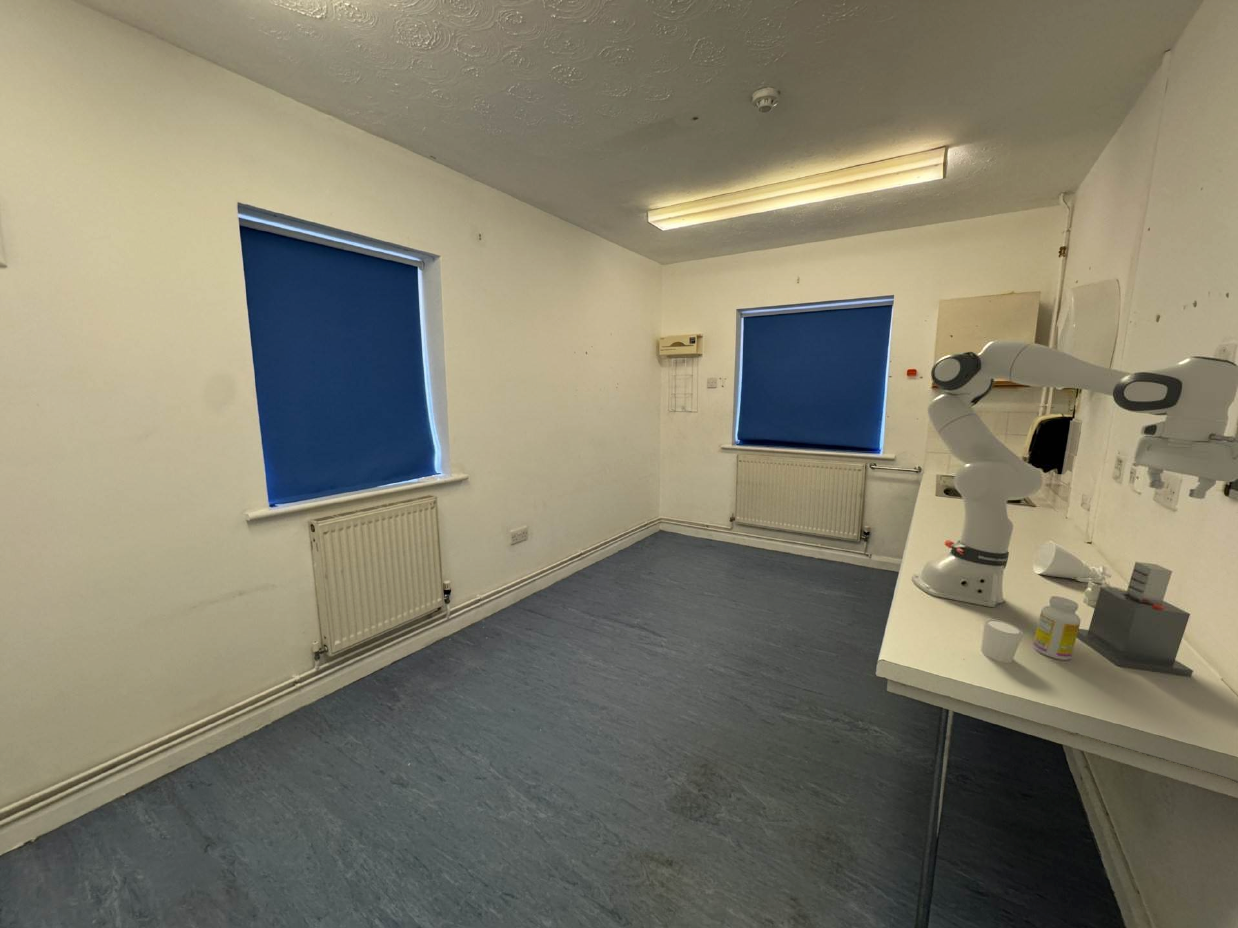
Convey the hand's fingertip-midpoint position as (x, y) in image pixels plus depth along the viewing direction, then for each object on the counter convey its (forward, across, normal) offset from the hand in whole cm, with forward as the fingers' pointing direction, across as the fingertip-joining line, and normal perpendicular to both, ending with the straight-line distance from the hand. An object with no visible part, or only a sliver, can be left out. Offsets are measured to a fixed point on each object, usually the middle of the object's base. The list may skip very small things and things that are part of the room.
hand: (1174, 492), depth 109 cm
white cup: (+38, -14, +37) cm, 55 cm away
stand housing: (+38, -4, +4) cm, 39 cm away
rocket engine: (+38, +43, -17) cm, 60 cm away
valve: (+38, +22, -12) cm, 46 cm away
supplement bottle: (+38, -9, +23) cm, 46 cm away
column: (+36, -4, +4) cm, 37 cm away
